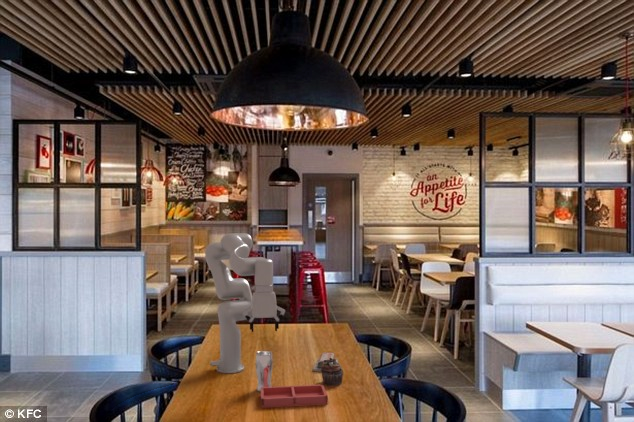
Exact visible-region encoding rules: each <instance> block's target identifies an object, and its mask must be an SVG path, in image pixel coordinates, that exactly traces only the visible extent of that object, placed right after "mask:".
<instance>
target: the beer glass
mask: <svg viewBox="0 0 634 422" xmlns="http://www.w3.org/2000/svg"><path fill="white" fill-rule="evenodd" d="M273 363H274V361H273V352H272V351H270V350H268V351H267V350H261V351H257V352H256V353H255V370H256V376H257V377H256V378H257V387H256V391H257V392H260V393H261V387H272V382H271V381H272V373H273V367H274V365H273Z"/></svg>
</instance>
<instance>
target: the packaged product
mask: <svg viewBox="0 0 634 422" xmlns="http://www.w3.org/2000/svg"><path fill="white" fill-rule="evenodd" d="M335 357H336V355H335V353H334V352H327V351H326V352H321V354H320V356H319V357H318V358H317V359H316V361H315V364H314V366H313V372H319V373H321V367H322V365H323V361H324V360H329V359H330V358H332V359H336V361H337V362H338V363H339V359H338V358H335Z"/></svg>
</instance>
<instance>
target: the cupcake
mask: <svg viewBox="0 0 634 422" xmlns="http://www.w3.org/2000/svg"><path fill="white" fill-rule="evenodd" d="M336 359H337V358H335V359H332V358H330V359H329V360H324V361H323V365H322V367H321V372H320V373H321V377H322V383H323V385H325V384H326V386H332V387H333V386H340V385H341V384H342V383H343V376H344V370H343V369H342V368H343V367H342V365H341V364H339V361H338V362H337V361H336Z"/></svg>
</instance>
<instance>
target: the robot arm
mask: <svg viewBox="0 0 634 422" xmlns="http://www.w3.org/2000/svg"><path fill="white" fill-rule="evenodd" d="M252 248H253V238H252V236H251V235H250V234H249V233H247V232H237V233H235V232H233V233H231V232H230V233H227V234H225V235H223V236H222V238H221V239H220V242H219V241H218V242H212V243H210V244H208V245H207V246H206V248H205V250H204V251H205V252H204V256H205V260H206V263H207V266H208V268H209V271H210V272H211V275H212V278H213V279H212V280H213V284H214V289H215V292H216V296H217V297H218V299H220V300H226V301H223V302H221V303H220V304H219V305H218V307H217V315H218V317H217V318H218V324H219V325H218V326H219V359H218V360H210V363H209V365H210V366H211V367H216V371H217V372H218V373H220V374H235V373H239V372H240V373H241V372H242V371H244V370H245V365H244V364H242V362H241V361H242V352H241V351H242V349H241V348H242V341H241V340H242V337H241V335H242V333H241V332H242V331H241V328H240V327H239V326H238V324H237V323H236V322H240V321H248V322H249V330H251V333H253V332H254V319H266V318H267V319H268V318H269V319H270V318H271V319H275V320H274V331H275V332H278V329H279V328H280V327H279V322H280V320H281V319H282V318H283V317H284V315H285V313H286V309H284V308H282V307H280V306H278V305H277V296H276V292H275V291H274V262H273V261H274V260H272V259H270V258H266V257H261V256H257V257H253V256H252V257H249V255H250V252H251V249H252ZM227 260H228V261H229V266H230V268H231V269H230V268H229V266H228V265H227V264H226V263H224V262H223V261H227ZM231 270H232V271H233V272H234V273H235V274H236V275H238V276H240V277H239V278H234V277H232V273H231ZM247 276H254V285H253V286H250V283H249V282H248V280H247V279H245V278H243V277H247ZM252 291H253V293H252ZM277 311H279V312H280V314H279V315H277V313H278V312H277Z"/></svg>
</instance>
